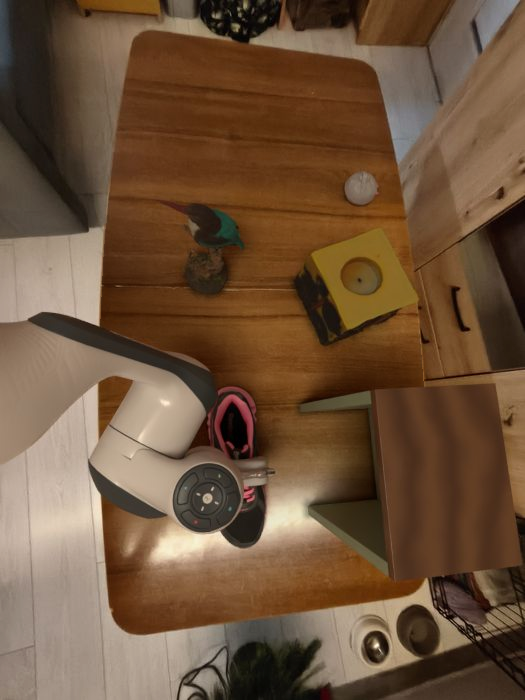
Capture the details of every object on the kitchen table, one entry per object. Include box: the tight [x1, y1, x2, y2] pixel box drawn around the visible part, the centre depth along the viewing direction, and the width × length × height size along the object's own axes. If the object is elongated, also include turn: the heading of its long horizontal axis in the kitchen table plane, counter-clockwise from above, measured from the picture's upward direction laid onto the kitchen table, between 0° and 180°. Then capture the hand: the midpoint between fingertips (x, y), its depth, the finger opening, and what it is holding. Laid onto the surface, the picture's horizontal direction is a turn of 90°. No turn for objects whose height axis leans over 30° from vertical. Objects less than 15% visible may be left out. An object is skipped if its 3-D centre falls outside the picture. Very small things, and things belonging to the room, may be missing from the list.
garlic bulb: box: [343, 170, 379, 206], centre depth 87 cm, size 6×7×8 cm
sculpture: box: [156, 199, 246, 295], centre depth 70 cm, size 8×14×25 cm, turn 88°
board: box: [369, 383, 524, 583], centre depth 48 cm, size 15×20×2 cm
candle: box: [293, 226, 420, 347], centre depth 79 cm, size 15×15×15 cm
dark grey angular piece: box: [299, 390, 389, 578], centre depth 65 cm, size 15×20×33 cm
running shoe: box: [206, 386, 267, 550], centre depth 71 cm, size 11×27×13 cm, turn 8°
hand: (202, 469), depth 72 cm, fingers closed
